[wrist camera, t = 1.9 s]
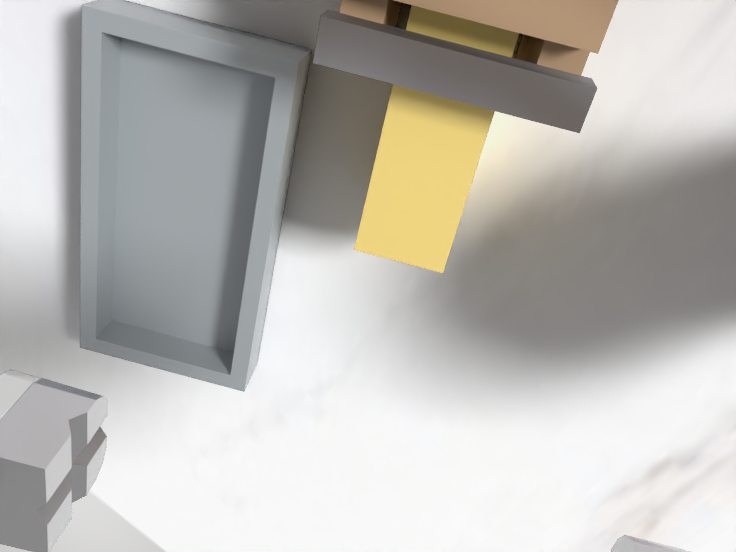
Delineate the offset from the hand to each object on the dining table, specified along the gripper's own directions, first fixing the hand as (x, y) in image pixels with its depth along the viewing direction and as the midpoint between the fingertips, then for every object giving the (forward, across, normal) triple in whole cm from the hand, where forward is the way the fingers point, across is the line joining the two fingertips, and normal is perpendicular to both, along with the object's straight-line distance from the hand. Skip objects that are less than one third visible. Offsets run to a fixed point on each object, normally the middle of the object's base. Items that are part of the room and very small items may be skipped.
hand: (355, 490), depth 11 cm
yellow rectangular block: (+17, 0, -2) cm, 17 cm away
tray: (+17, +8, +5) cm, 20 cm away
